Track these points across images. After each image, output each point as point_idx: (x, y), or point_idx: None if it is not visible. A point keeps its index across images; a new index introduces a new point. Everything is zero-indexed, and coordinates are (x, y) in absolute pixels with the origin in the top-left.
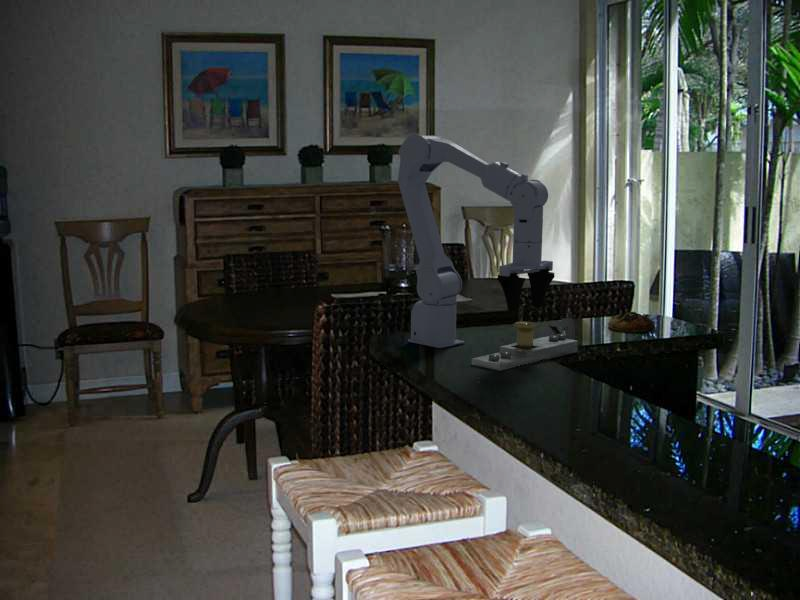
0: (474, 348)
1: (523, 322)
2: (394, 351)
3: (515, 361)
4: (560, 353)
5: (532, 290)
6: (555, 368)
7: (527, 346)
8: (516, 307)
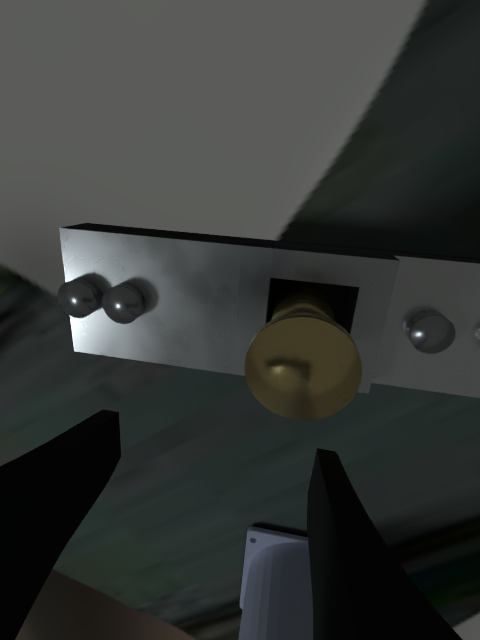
0: (279, 484)
1: (280, 393)
2: (461, 611)
3: (476, 263)
4: (182, 233)
5: (63, 539)
6: (390, 121)
7: (324, 306)
8: (342, 468)
